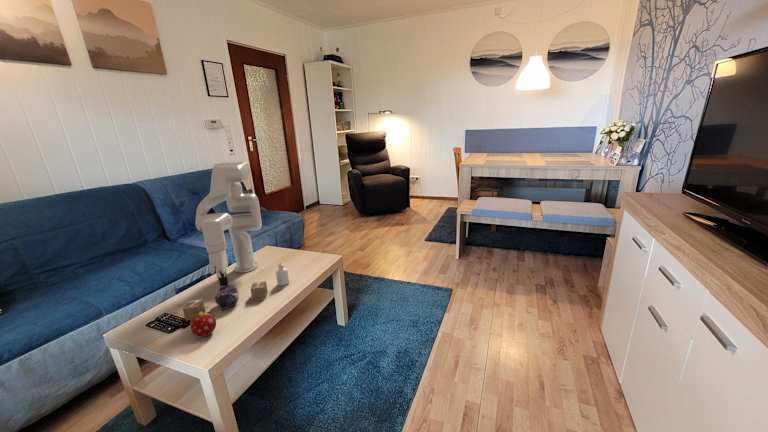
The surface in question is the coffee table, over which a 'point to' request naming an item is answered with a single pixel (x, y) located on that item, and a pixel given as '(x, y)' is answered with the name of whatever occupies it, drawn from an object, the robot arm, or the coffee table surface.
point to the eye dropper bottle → (282, 275)
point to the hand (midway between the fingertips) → (224, 285)
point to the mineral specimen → (226, 296)
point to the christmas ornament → (203, 324)
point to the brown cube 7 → (193, 309)
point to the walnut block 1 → (259, 290)
